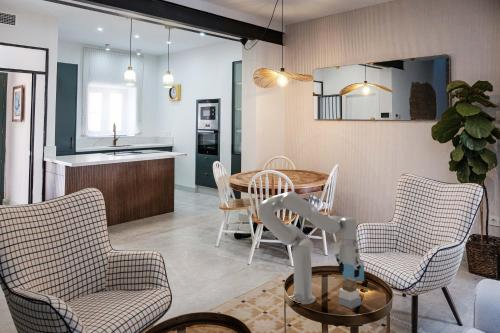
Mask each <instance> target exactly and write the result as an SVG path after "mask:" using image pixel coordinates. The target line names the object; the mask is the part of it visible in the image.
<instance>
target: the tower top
mask: <svg viewBox="0 0 500 333" xmlns="http://www.w3.org/2000/svg"><path fill="white" fill-rule="evenodd" d="M338 291H339V292H338V293H339V294H338V295H339V296H338V298H339V297H342V298H344V299H346V300H349V301H351V300H354V299H356V298H359V297H360V290H359V289H358V288H357V290H355V291H352V292H348V291H345V290H343V289H342V287H341V288H339V290H338Z"/></svg>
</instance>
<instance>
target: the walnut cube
mask: <svg viewBox="0 0 500 333" xmlns="http://www.w3.org/2000/svg"><path fill="white" fill-rule="evenodd" d="M341 281H342V282H341V283H342V285H341V286H342V287H341V288H342V289H343V290H345V291H348V292H352V291H355V290H357V289H358V288H357V287H358V286H357V284H356V280H354V279H351V278H346V279H344V280H343V279H342V280H341Z"/></svg>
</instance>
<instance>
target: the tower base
mask: <svg viewBox="0 0 500 333" xmlns="http://www.w3.org/2000/svg"><path fill="white" fill-rule="evenodd" d="M338 305H340V306H343V307H346V308H348V309H350V310H352V309H355V308H357V307H359V306H361V305H362V296H359V298H356V299H354V300H351V301H349V300H346V299H344V298H342V297H339V296H338Z"/></svg>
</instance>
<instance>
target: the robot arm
mask: <svg viewBox="0 0 500 333" xmlns="http://www.w3.org/2000/svg"><path fill="white" fill-rule="evenodd" d="M285 209H286V210H288V211H290V212H292V213H294V214H296V215H297V216H300V217H302V218H303V219H305V220H307V222H309V223H310V224H312V225H313V226H315V227H316V228H318V229H320V230H322V232H325V233H327V234H331V235H333V234H337V233H338V232H339V231H340V232H341V236H340V237H341V241H340V245H339V250H338V253H336V254H335V255H334V257H335V259H336V262H337V265H338V272H339V273H343V271H344V264H343V263H347V264H350V265H353V266H354V268H355V270H354V277H355V278H356V277H359V269H360V268H361V267H362V266H363V264H364V261H363V260H362V259H361V256H360V255H361V254H360V249H359V245H358V244H359V241H357V230H358V229H357V226H358V225H357V224H358V223H357V219H356V218H355V217H351V216H339V215H331V216H327V215H325V214H324V213H322V212H320V210H318V208H317V207H316V206H315V204H313V203H311V202H310V201H307V200H305V199H304V198H301V197H300V196H299V195H298V193H297V192H295V191H287V192H283V193H280V194H277V195H273V196H270V197H269V198H267V199H265V200H263V201H262V202H261V203H260V205H259V207H258V218H259V219H258V220H259V222H261V223H262V225H263V226H264V227H265V228H266V229H267V230H268V231H269V232H271V234H272V235H273V236H274V237H275V238H277V239H278V241H280V242H281V244H283V245H285V246H290V245H292V246H293V247H292V252H291V254H292V255H291V256H292V262H293V263H292V266H293V286H294V287H293V289H294V290H293V292H292V294H291V295H290V296H288V297H290V298H292V299H294V300H297V301H298V302H300V303H302V304H301V305H309V304H313V303H314V302H316V297H315V295H313V280H312V279H313V275H312V274H313V273H312V272H313V271H312V269H313V268H312V257H311V256H312V255H311V254H312V253H313V250H314V243H313V241H312V240H311V238H310V237H309V236H307V235H306V234H305V233H304V232H303V231H302V230H301V229H300V228H299V227H298V226H296V225H294V224H292V223H289V224H286V223H285V222H284V221H283V220H282V219H281V218H280V217H278V216H277V215H276V214H275V213H276V212H278V211H281V210H285ZM359 263H360V264H359ZM364 265H365V264H364Z"/></svg>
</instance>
